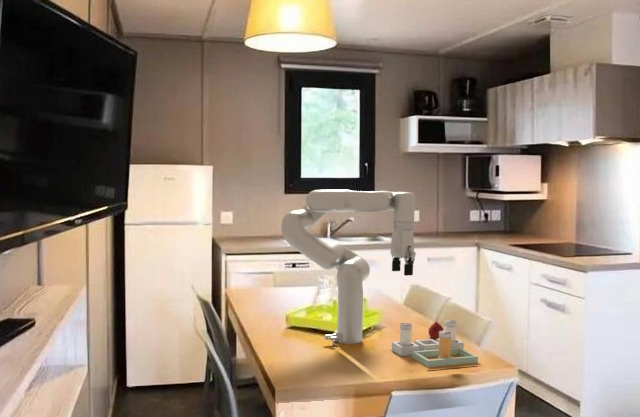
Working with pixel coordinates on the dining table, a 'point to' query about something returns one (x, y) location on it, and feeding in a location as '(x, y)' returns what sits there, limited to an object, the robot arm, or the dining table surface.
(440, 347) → the marked fuse
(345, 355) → the dining table surface
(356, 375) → the dining table surface
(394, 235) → the robot arm
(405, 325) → the cylinder
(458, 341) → the fuse holder
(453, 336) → the cylinder
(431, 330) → the onion
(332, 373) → the dining table surface
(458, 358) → the tray
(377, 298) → the dining table surface
